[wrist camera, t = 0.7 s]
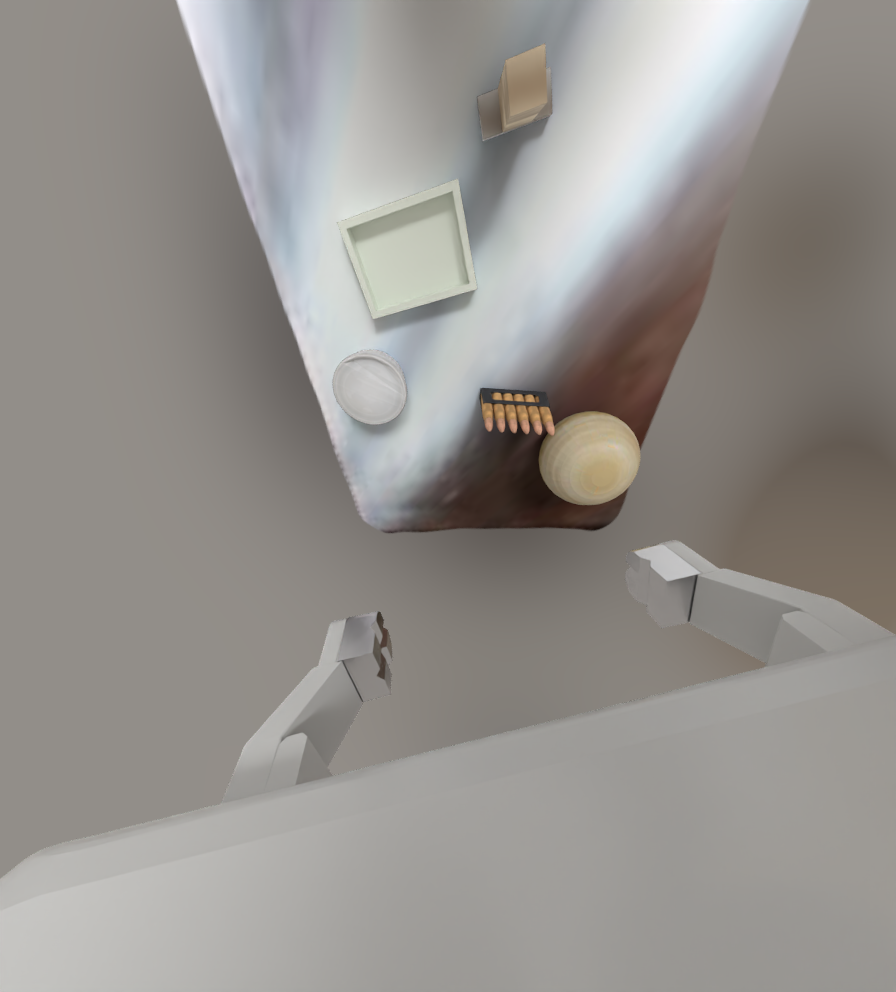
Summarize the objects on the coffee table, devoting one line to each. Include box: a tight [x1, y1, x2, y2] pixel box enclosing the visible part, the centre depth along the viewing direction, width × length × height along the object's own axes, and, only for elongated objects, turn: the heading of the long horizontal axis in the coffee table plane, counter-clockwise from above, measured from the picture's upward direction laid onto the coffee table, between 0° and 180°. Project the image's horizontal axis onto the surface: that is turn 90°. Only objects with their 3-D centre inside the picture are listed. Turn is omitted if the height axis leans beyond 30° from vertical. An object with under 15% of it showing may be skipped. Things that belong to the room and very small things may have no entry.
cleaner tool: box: [477, 44, 552, 141], centre depth 30 cm, size 3×7×10 cm, turn 105°
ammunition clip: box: [480, 388, 555, 436], centre depth 50 cm, size 11×2×12 cm, turn 87°
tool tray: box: [337, 179, 477, 319], centre depth 41 cm, size 11×15×2 cm
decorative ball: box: [539, 411, 640, 505], centre depth 53 cm, size 15×15×15 cm
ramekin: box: [333, 349, 407, 425], centre depth 51 cm, size 11×11×5 cm
